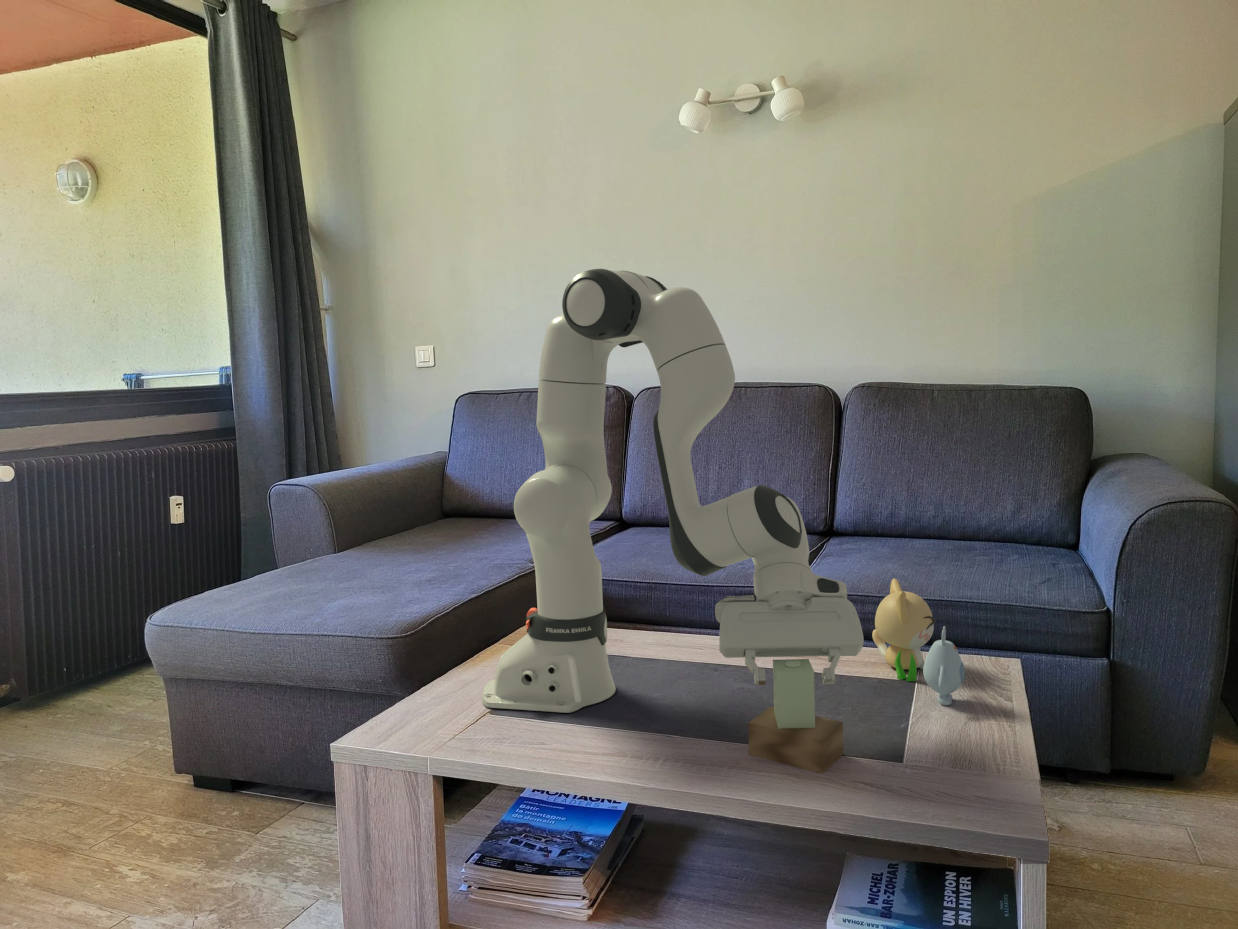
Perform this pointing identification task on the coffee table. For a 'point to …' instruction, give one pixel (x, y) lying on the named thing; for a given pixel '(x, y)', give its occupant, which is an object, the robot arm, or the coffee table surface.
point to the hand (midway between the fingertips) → (794, 683)
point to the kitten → (903, 630)
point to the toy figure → (944, 669)
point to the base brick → (796, 742)
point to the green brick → (794, 693)
